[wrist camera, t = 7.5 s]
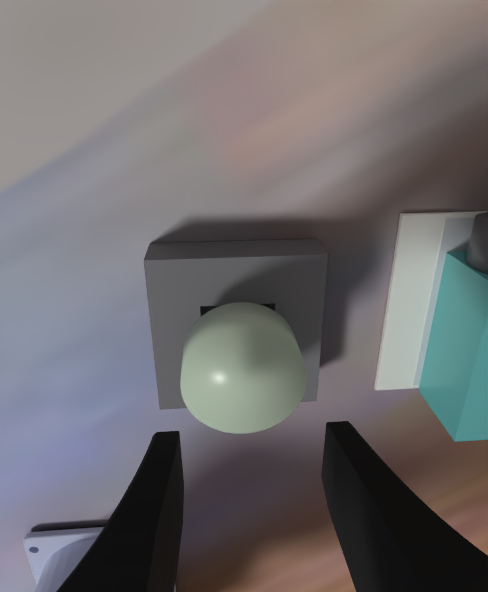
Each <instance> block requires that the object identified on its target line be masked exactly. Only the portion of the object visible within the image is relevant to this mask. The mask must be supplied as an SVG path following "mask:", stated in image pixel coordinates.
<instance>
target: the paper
mask: <svg viewBox="0 0 488 592" xmlns="http://www.w3.org/2000/svg"><path fill="white" fill-rule="evenodd" d="M483 212H488V211H476V212H436V213H400V218H399V225H398V232H397V239H396V245H395V252H394V259H393V265H392V272H391V279H390V285H389V292H388V299H387V305H386V312H385V319H384V325H383V332H382V339H381V345H380V352H379V359H378V365H377V372H376V379H375V385H374V389H375V390H391V389H410V388H419V385H420V380H421V375H422V370H423V365H424V360H425V355H426V350H427V345H428V341H429V336H430V331H431V326H432V321H433V316H434V311H435V306H436V301H437V296H438V291H439V287H440V282H441V277H442V272H443V267H444V262H445V257H446V252H467V250H468V246H469V241H470V237H471V232H472V228H473V223H474V219H475V216H476V215H477V214H479V213H483Z"/></svg>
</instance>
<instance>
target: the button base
mask: <svg viewBox="0 0 488 592" xmlns="http://www.w3.org/2000/svg"><path fill="white" fill-rule="evenodd" d="M327 266H328V253H327V252H326V251H325V249H324V248H323V247H322V245H321V244H320V242H319V241H318V240H317V239H285V240H250V241H215V242H181V243H150V244H149V247H148V250H147V253H146V255H145V258H144V268H145V277H146V286H147V296H148V305H149V314H150V323H151V332H152V342H153V351H154V360H155V369H156V378H157V388H158V397H159V406H160V409H178V408H187V406H186V404H185V403H184V400H183V397H182V394H181V388H180V381H181V369H182V358H183V348H184V342H185V339H186V336H187V334H188V332H189V330H190V329H191V327H192V326H193V325H194V323H195V322H196V321H197V320H198V319H199V318H200V317H202V316H203V315H204V314H206V313H207V312H209V311H210V310H212V309H214V308H216V307H219V306H222V305H225V304H230V303H237V302H248V303H255V304H259V305H263V306H265V307H268V308H270V309H272V310H273V311H275V312H277V313H278V314H279V315H281V316H282V317H283V318H284V319H285V320H286V321H287V323H288V324H289V325H290V327H291V329H292V331H293V333H294V336H295V339H296V341H297V344H298V347H299V350H300V353H301V355H302V358H303V361H304V364H305V367H306V372H307V385H306V390H305V393H304V396H303V398H302V400H301V402H307V401H316V400H317V388H318V376H319V364H320V351H321V339H322V327H323V315H324V303H325V290H326V278H327Z"/></svg>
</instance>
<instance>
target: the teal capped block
mask: <svg viewBox="0 0 488 592" xmlns="http://www.w3.org/2000/svg"><path fill="white" fill-rule="evenodd" d="M418 391H419V392H420V393H421V395H422V396H423V398H424V399H425V400H426V402H427V403H428V405H429V406H430V408H431V409H432V410H433V412H434V413H435V415H436V416H437V418H438V419H439V420H440V422H441V423H442V425H443V426H444V427H445V429H446V430H447V432H448V433H449V435H450V436H451V437H452V439H453V440H454V442H458V441H474V440H488V212H483V213H479V214H477V215H476V216H475V219H474V223H473V228H472V232H471V237H470V241H469V246H468V250H467V252H446V257H445V262H444V267H443V272H442V277H441V282H440V287H439V291H438V296H437V301H436V306H435V311H434V316H433V321H432V326H431V331H430V336H429V341H428V345H427V350H426V355H425V360H424V365H423V370H422V375H421V380H420V385H419V390H418Z"/></svg>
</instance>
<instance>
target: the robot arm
mask: <svg viewBox="0 0 488 592" xmlns="http://www.w3.org/2000/svg"><path fill="white" fill-rule="evenodd" d="M321 476H322V481H323V485H324V490H325V495H326V499H327V504H328V508H329V512H330V515H331V518H332V521H333V524H334V527H335V530H336V533H337V536H338V539H339V542H340V545H341V548H342V551H343V554H344V557H345V560H346V563H347V566H348V569H349V571H350V574H351V577H352V580H353V583H354V586H355V589H356V592H488V555H486V554H485V553H483V552H482V551H481V550H479V549H478V548H477V547H475V546H474V545H473V544H472V543H470V542H469V541H468V540H466V539H465V538H464V537H463V536H461V535H460V534H459V533H458V532H457V531H455V530H454V529H453V528H452V527H451V526H449V525H448V524H447V523H446V522H445V521H444V520H442V519H441V518H440V517H439V516H438V515H437V514H436V513H435V512H434V511H432V510H431V509H430V508H429V507H428V506H427V505H426V504H425V503H424V502H423V501H422V500H421V499H420V498H419V497H418V496H417V495H415V494H414V493H413V492H412V491H411V490H410V489H409V488H408V487H407V486H406V485H405V484H404V483H403V482H402V480H401V479H400V478H399V477H398V476H397V475H396V474H395V473H394V472H393V471H392V470H391V469H390V468H389V467H388V466H387V465H386V464H385V463H384V461H383V460H382V459H381V458H380V457H379V456H378V455H377V454H376V453H375V451H374V450H373V449H372V448H371V447H370V446H369V445H368V443H367V442H366V441H365V440H364V439H363V438H362V436H361V435H360V434H359V433H358V432H357V431H356V429H355V428H354V427H353V426H352V425H351V424H350V423H349V422H348V421H342V422H327V424H326V434H325V444H324V455H323V465H322V475H321ZM183 498H184V481H183V469H182V458H181V447H180V435H179V431H169V432H157V433H155V434H154V435H153V437H152V440H151V443H150V445H149V447H148V450H147V452H146V454H145V456H144V458H143V460H142V462H141V464H140V466H139V468H138V470H137V472H136V474H135V476H134V478H133V480H132V482H131V483H130V485H129V487H128V489H127V491H126V492H125V494H124V496H123V498H122V499H121V501H120V503H119V504H118V506H117V508H116V509H115V511H114V512H113V514H112V516H111V517H110V519H109V520H108V522H107V524H106V525H105V527H95V528H81V529H67V530H53V531H39V532H30V533H28V534H26V536H25V538H24V541H23V545H24V548H25V551H26V554H27V557H28V560H29V563H30V566H31V569H32V572H33V575H34V578H35V581H36V584H37V587H36V590H35V592H176V585H175V580H176V572H177V564H178V556H179V549H180V541H181V533H182V525H183Z"/></svg>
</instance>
